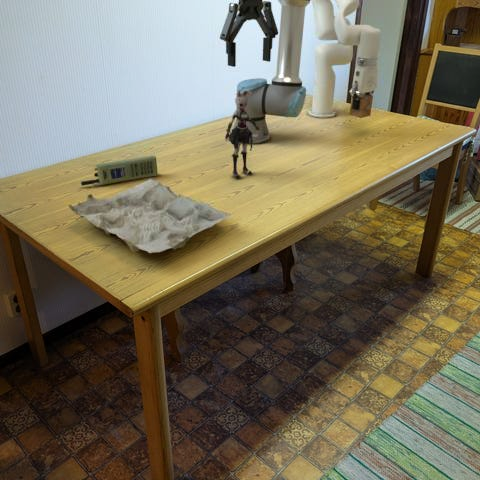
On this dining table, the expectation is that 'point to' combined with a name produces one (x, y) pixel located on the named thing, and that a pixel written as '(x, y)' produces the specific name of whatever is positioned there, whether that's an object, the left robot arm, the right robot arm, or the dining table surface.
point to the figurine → (241, 131)
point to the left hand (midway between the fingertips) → (249, 63)
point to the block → (362, 106)
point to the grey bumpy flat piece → (149, 216)
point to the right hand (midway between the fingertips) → (360, 107)
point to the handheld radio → (124, 170)
